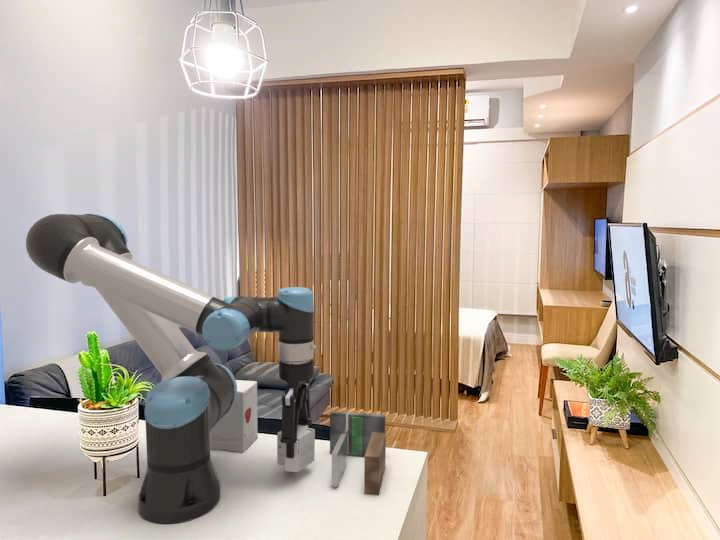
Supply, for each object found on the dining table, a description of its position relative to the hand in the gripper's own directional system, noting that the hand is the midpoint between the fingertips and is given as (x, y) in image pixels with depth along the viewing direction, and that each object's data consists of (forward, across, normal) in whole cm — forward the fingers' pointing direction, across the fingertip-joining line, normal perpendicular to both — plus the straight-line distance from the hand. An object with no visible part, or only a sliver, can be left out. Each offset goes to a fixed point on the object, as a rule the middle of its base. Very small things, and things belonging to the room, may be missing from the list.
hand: (297, 461), depth 113 cm
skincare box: (+1, 0, 0) cm, 1 cm away
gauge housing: (+3, +3, -12) cm, 13 cm away
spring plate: (+2, +2, -9) cm, 10 cm away
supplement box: (+3, +12, +19) cm, 23 cm away
